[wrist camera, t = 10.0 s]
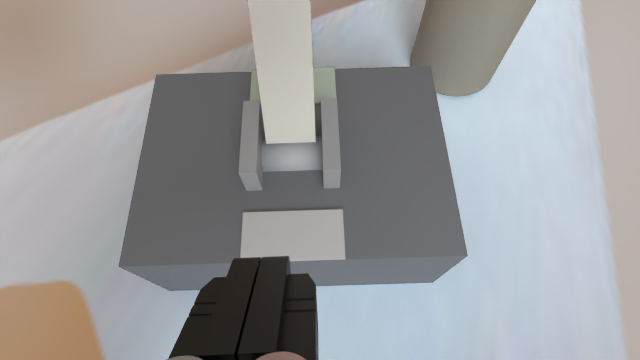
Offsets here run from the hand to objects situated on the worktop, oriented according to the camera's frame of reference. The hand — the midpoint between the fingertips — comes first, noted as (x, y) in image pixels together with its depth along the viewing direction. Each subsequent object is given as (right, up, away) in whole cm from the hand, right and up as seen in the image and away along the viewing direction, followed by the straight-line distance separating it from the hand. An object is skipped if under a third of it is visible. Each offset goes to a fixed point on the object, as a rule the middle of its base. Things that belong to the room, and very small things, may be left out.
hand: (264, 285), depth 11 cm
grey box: (0, +1, +22) cm, 22 cm away
